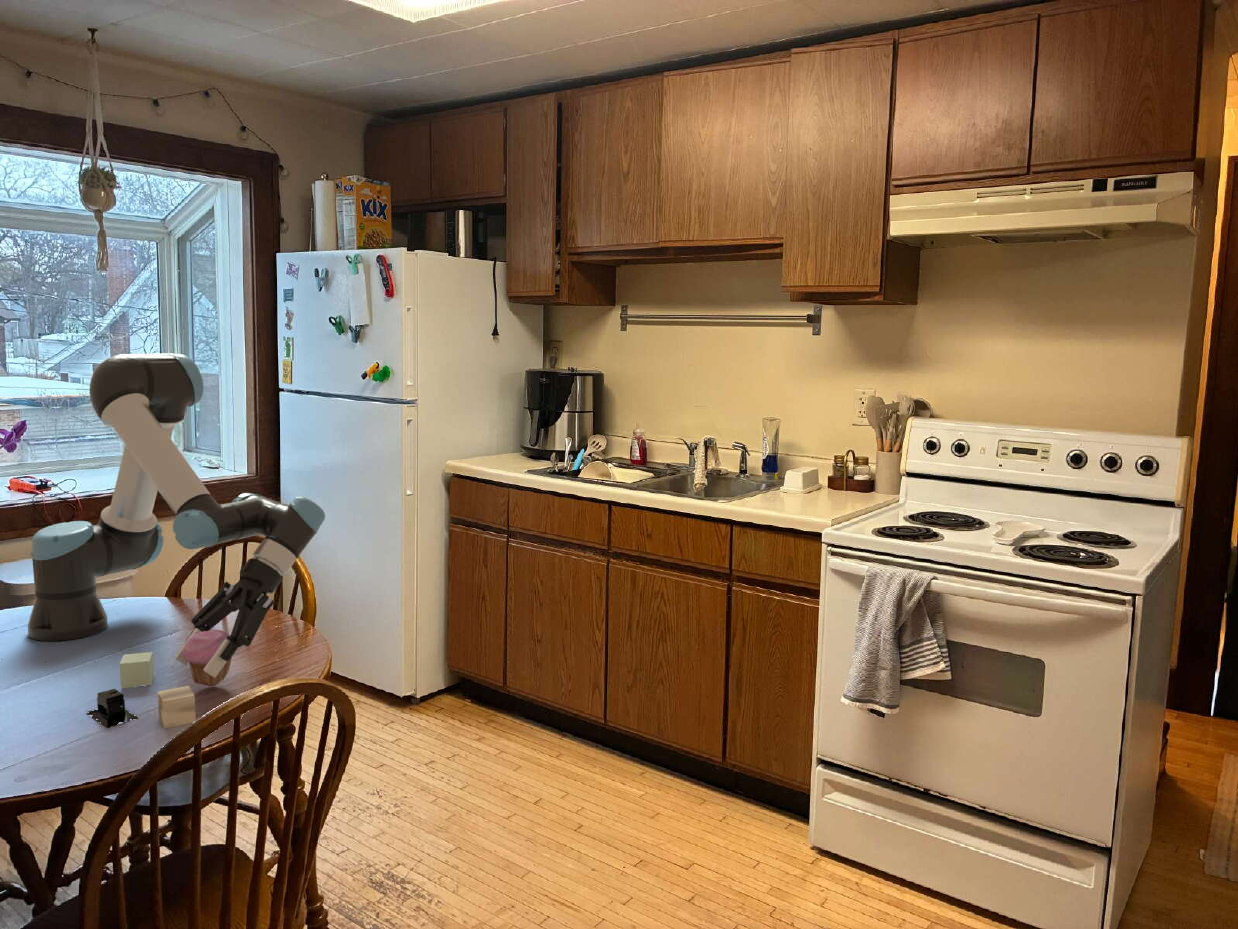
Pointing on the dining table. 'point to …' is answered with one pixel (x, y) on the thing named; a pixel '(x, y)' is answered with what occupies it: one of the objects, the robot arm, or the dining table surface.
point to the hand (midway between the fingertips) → (194, 667)
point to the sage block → (136, 669)
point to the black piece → (111, 709)
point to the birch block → (176, 706)
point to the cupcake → (205, 656)
